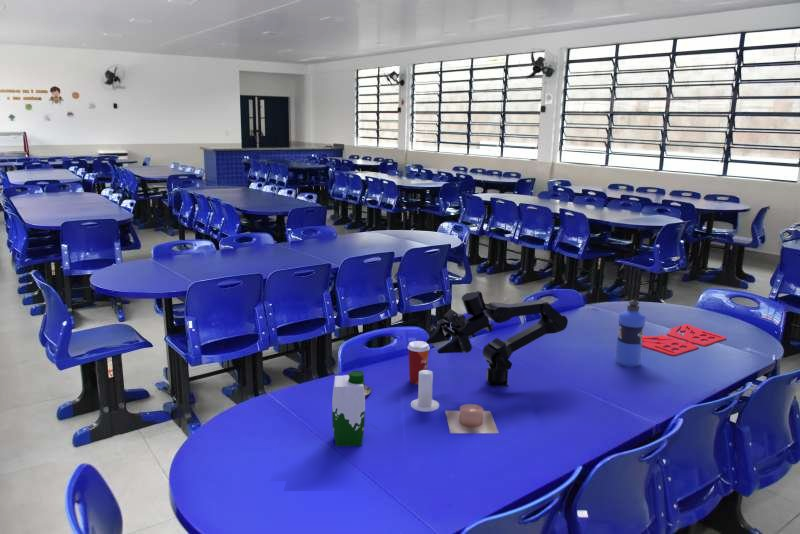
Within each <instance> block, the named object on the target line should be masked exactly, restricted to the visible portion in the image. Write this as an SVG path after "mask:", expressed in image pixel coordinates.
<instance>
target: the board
mask: <svg viewBox="0 0 800 534" xmlns="http://www.w3.org/2000/svg"><path fill="white" fill-rule="evenodd" d="M445 415H446V421H447V424H448V429H449V433H450V434H499V433H500V432H499V430H498V427H497V425H496V422H495V420H494V416H493V415H492V413H491V410H483V424H482V425H481V426H478V427H467V426H464V425H462V424H461V423H460V422H459V415H460V410H445Z"/></svg>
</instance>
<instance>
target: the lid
mask: <svg viewBox="0 0 800 534" xmlns="http://www.w3.org/2000/svg"><path fill="white" fill-rule="evenodd" d="M433 378H434V372H433V371H432V370H428V369H427V370H421V371H419V384H417V385H418V389H417V390H418V391H417V398H416V399H413V400H412V401H411V402H410V407H411V408H412V409H413V410H415V411H418V412H427V413H428V412H433V411H436V410H438V409H439V407H440V402H438V401H437V400H436V399H435V400H434V399H433V383H434V382H433V381H434V379H433Z"/></svg>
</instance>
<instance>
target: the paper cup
mask: <svg viewBox="0 0 800 534" xmlns="http://www.w3.org/2000/svg"><path fill="white" fill-rule="evenodd" d="M407 349H408V371H409V372H408V373H409V375H408V376H409V382H410V383H411V384H413V385H419V371H421V370H428V361H429V352H430V349H431V348H430V344H427V343H426V341H422V340H414V341H411V342H409V343H408V345H407Z"/></svg>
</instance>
